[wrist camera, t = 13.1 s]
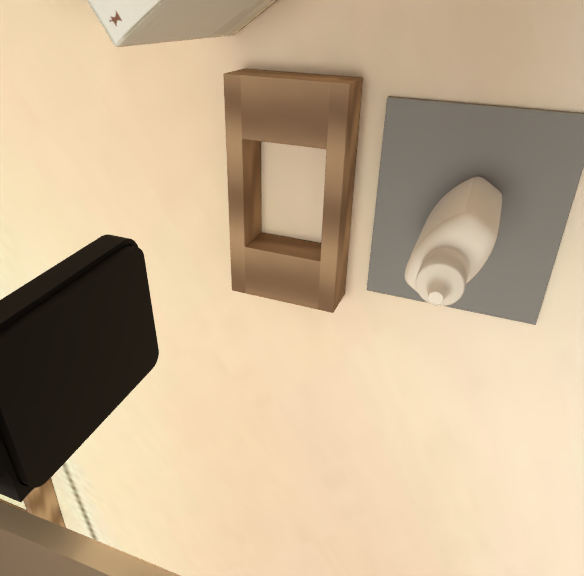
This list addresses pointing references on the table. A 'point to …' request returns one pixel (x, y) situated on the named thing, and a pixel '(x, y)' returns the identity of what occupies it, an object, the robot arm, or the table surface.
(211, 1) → the supplement box
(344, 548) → the table surface
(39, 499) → the box frame
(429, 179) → the rubber pad
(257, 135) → the frame
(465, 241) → the eye dropper bottle
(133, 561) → the robot arm
